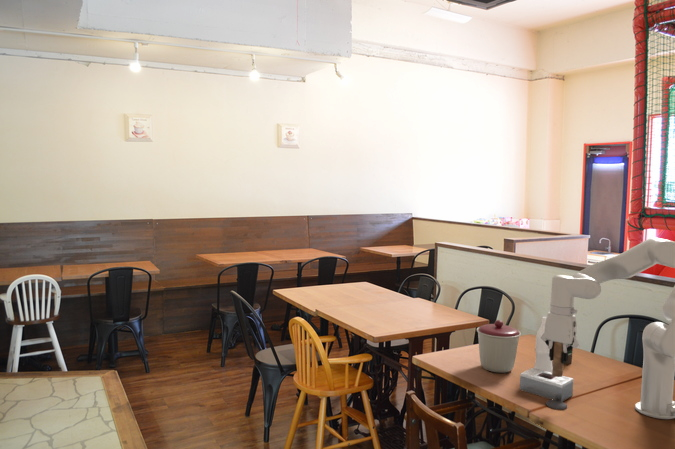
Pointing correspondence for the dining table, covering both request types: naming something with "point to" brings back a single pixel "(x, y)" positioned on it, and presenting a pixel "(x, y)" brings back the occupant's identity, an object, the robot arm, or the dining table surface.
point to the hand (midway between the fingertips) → (558, 360)
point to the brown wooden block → (557, 360)
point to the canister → (498, 346)
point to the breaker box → (546, 384)
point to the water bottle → (542, 351)
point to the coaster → (556, 404)
